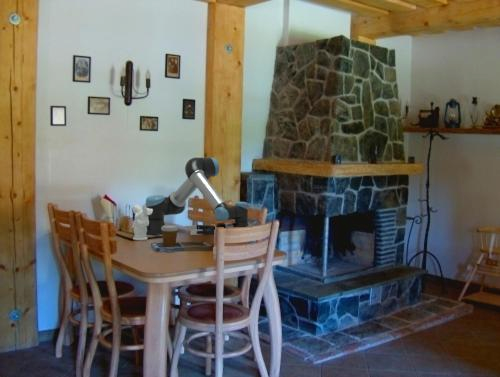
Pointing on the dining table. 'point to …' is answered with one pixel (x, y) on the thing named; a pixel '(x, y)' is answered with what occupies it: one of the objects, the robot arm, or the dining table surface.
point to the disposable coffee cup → (169, 235)
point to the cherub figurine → (141, 221)
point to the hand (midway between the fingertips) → (187, 230)
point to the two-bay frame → (182, 246)
